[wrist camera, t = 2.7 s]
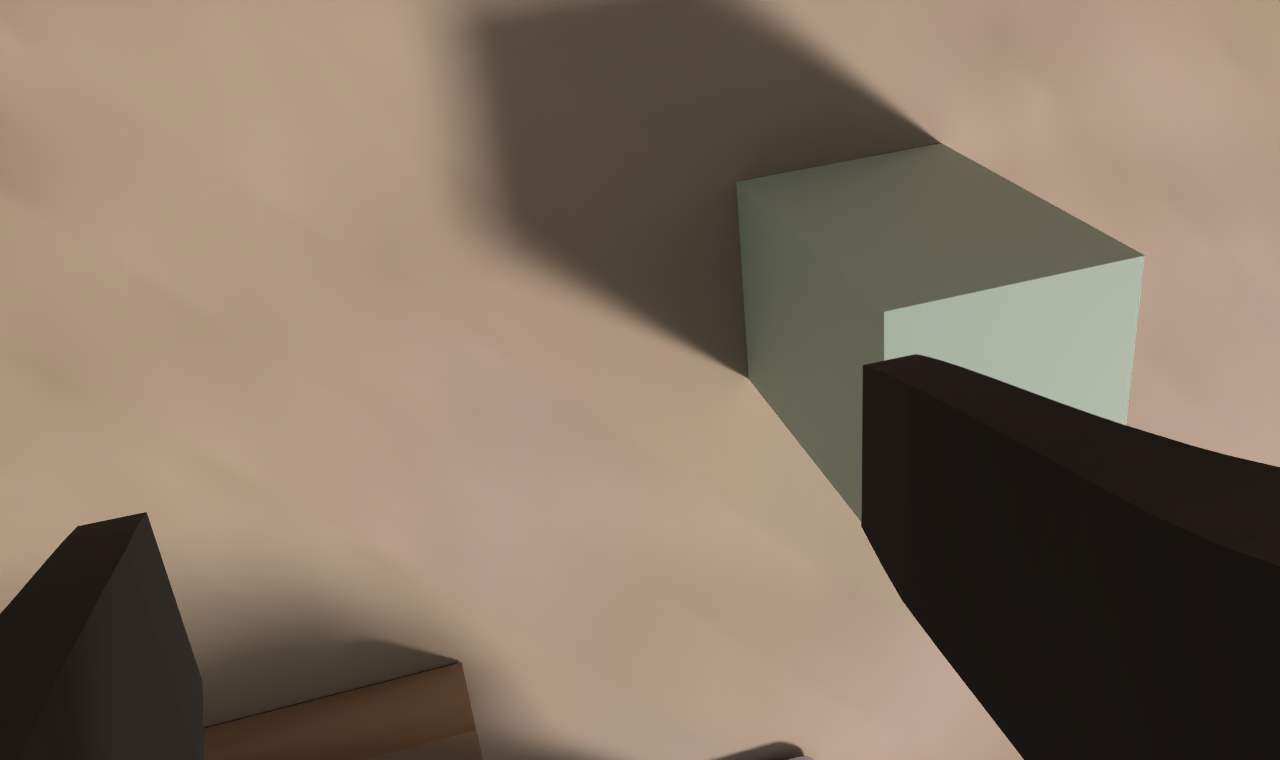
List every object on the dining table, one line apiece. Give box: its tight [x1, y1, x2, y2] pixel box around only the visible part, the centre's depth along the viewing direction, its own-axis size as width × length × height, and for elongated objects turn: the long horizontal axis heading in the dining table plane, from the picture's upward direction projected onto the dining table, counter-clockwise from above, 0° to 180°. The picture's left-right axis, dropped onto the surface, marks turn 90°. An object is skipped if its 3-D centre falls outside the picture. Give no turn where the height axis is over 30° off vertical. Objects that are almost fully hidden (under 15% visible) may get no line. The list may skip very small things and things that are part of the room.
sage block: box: [736, 143, 1145, 521], centre depth 20 cm, size 4×4×6 cm
